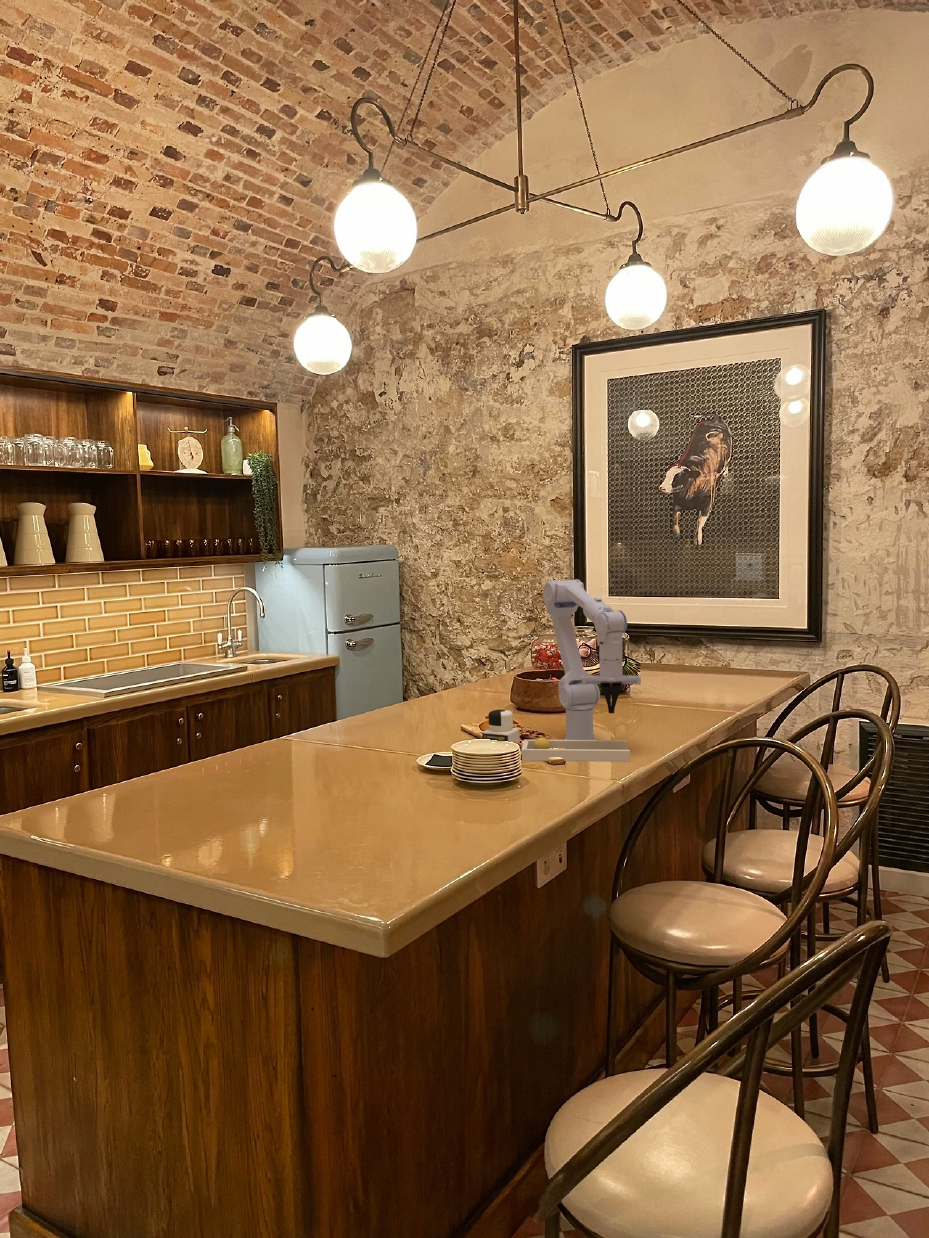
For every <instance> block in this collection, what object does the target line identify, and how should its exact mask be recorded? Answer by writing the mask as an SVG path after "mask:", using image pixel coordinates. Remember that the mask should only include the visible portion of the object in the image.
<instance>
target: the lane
mask: <svg viewBox="0 0 929 1238" xmlns="http://www.w3.org/2000/svg"><path fill="white" fill-rule="evenodd" d="M536 740H537V739H523V742H522V747H521V749H520V753H521V752H522V760H521V761H524V762H525V761H526V762H530V761H531V762H537V761H538V762H549V761H548V758H549V757H561V758H564V761H563V762H622V763H623V762H625V763H626V762H627V763H628V762H629V763H630V762H631V750H630V749H629V741H628V739H595V740H565V739H547V740H548V741H549V743H550V748H552V749H535V748H534V743H535V741H536ZM556 747H559V748H565V749H553V748H556Z"/></svg>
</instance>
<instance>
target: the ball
mask: <svg viewBox="0 0 929 1238" xmlns="http://www.w3.org/2000/svg"><path fill="white" fill-rule="evenodd" d="M535 740H536V741H535V743H534V748H535V749H549V748H550V743H549V741H548V740H549V739H547V738H545V737H539V738H537V739H535Z"/></svg>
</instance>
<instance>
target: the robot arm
mask: <svg viewBox="0 0 929 1238" xmlns="http://www.w3.org/2000/svg"><path fill="white" fill-rule="evenodd" d="M542 598H543V601H544V605H545V606H544V607H545V609H546V613H547V614H549V616H550V618H551V622H552V627H553V630H554V634H555V638H556V641H557V642H556V643H557V646H558V650H559V654H560V659H561V663H562V667H563V670H564V675H563V676H562V677H561V678H560V679H559V682H558V683H557V685H558V699H559V702H560V704H561V706H563V708H564V709H565V734H564V740H596V739H595V738H596V737H595V734H594V709H596V705H598V703H599V701H600V698H601V691H602V694H603V696H604V699H605V701H606V704H607V708H608V709H607V710H608V714H615V709H616V704H617V701H618V698H619V695H620V693H621V692H622V689H623V685H639V686H641V684H642V683H641V676H640V675H628V674H627V675H625V674H623V670H624V669H623V667H624V666H623V665H624V663H623V634H624V633H625V632H626V631H627V629H628V620H627V619H628V617H627V616H626V614H625V612H624V611H623V610H620V609H619V610H614V609H612V607H610V606H609V605H607V604H606V602H604V601H602V600H603V599H602V598H601V597H592V596H591V595H590V594H589V593H588V592H587V591H586V590H585V586H584V582H582V581H581V580H580V579H577V578H576V579H568V580H547V581H546V582H545V584H544V585H543V591H542ZM579 607H580V608H582V611H583V615H584V616H585V617H586V618H587V619H588V620H589V621H591V623H593V624H594V629H595V632H596V639H597V642H599V647H598V648H599V649H598V650H599V655H598V656H599V674H598V675H596V674H595V675H592V674H591V673H589V672H588V671H586V670H585V669H584V665H583V662H582V657H581V654H580V649H579V646H578V643H577V642H578V641H577V638H576V634H575V630H574V626H573V621H572V619H571V617H572V615H573V614H574V613H575V612H577V610H578V608H579ZM598 685H600V687H599V686H598ZM600 689H601V691H600Z"/></svg>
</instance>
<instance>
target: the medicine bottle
mask: <svg viewBox="0 0 929 1238" xmlns="http://www.w3.org/2000/svg"><path fill="white" fill-rule="evenodd" d="M513 717H514V714H513V712H512V711H511V710H509V709H493V710H491V711H490V712H489V713H488V729H486V730H483V731H482V733H481V738H482V739H490V740H497V741H508V742H516V743H519V744H520V729H519V728H518V727H517V728H516V727H514V722H513V719H514V718H513ZM482 739H481V740H482Z"/></svg>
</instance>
